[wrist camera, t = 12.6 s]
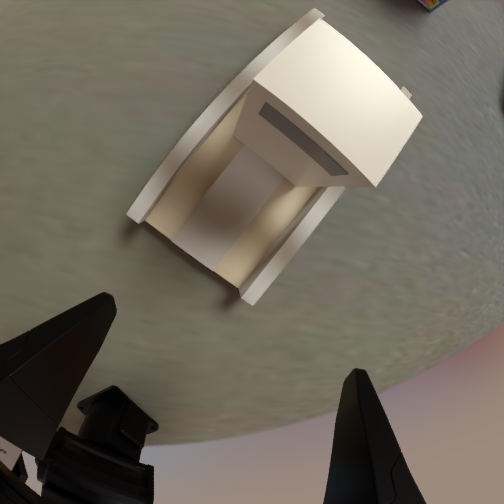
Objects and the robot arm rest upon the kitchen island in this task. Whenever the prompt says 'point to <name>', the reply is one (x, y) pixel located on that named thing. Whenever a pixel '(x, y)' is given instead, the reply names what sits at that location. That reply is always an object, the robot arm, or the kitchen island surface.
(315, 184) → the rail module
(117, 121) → the kitchen island surface
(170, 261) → the kitchen island surface
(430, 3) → the ink cartridge box
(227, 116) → the mounting rail
